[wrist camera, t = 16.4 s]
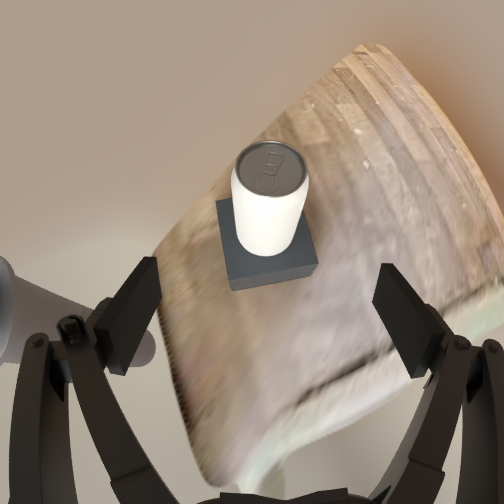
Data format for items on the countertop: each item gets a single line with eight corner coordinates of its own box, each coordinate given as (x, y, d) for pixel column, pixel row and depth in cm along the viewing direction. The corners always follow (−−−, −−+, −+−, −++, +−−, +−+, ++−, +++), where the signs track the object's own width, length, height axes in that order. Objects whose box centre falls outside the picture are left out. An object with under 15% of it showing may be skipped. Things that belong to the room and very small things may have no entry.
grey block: (231, 291, 36) (228, 280, 31) (219, 219, 39) (215, 200, 34) (310, 276, 36) (318, 263, 32) (291, 207, 40) (296, 187, 35)
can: (228, 247, 32) (216, 188, 21) (247, 199, 34) (245, 129, 23) (284, 265, 32) (302, 213, 20) (299, 215, 34) (319, 148, 23)
